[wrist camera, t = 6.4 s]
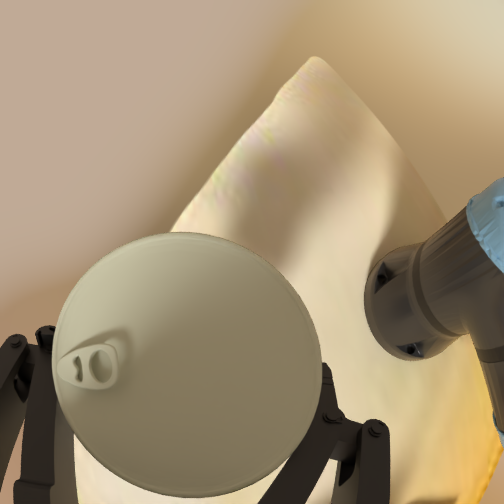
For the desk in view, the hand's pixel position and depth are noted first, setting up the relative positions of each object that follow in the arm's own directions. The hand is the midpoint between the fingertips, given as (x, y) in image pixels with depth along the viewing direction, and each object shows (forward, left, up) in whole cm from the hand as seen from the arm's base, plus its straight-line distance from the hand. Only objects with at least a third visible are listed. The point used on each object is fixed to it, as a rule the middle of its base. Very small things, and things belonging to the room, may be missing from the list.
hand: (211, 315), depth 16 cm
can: (+2, +3, -4) cm, 5 cm away
